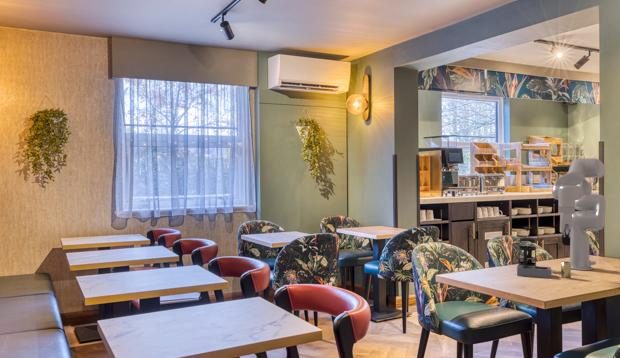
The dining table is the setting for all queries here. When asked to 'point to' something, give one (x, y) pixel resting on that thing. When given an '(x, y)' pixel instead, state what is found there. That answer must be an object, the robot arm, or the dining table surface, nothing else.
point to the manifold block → (534, 271)
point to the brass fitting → (565, 269)
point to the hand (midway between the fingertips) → (566, 244)
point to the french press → (527, 251)
